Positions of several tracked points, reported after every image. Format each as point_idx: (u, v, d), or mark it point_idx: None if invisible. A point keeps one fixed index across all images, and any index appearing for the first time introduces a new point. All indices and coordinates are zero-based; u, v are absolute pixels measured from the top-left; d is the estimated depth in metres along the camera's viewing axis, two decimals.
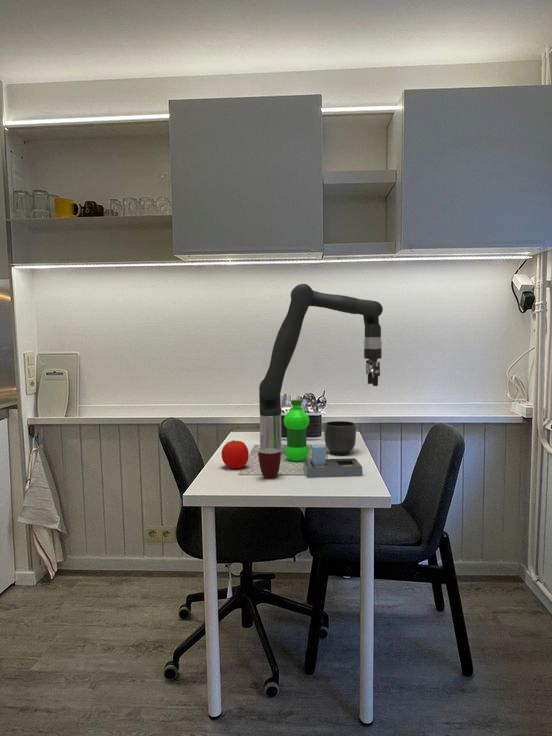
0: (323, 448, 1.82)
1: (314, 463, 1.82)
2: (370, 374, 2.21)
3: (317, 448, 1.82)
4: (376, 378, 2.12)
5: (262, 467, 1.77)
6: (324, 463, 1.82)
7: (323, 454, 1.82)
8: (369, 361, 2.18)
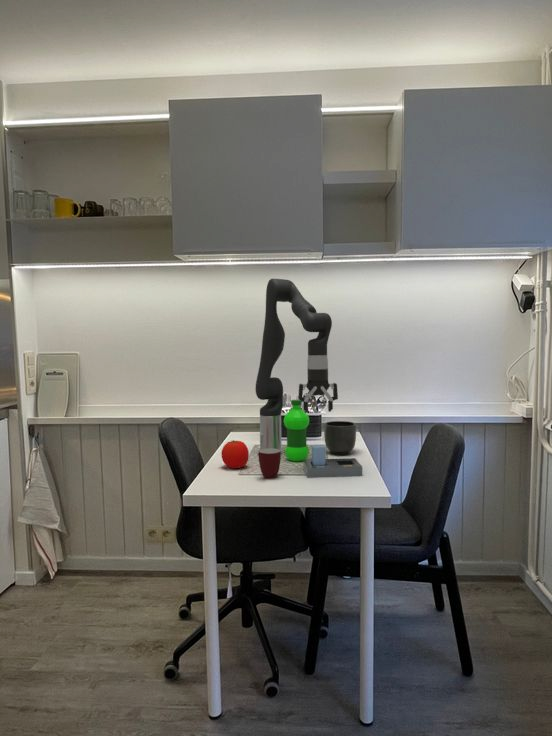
0: (323, 448, 1.82)
1: (314, 463, 1.82)
2: None
3: (317, 448, 1.82)
4: None
5: (262, 467, 1.77)
6: (324, 463, 1.82)
7: (323, 454, 1.82)
8: (314, 384, 1.81)
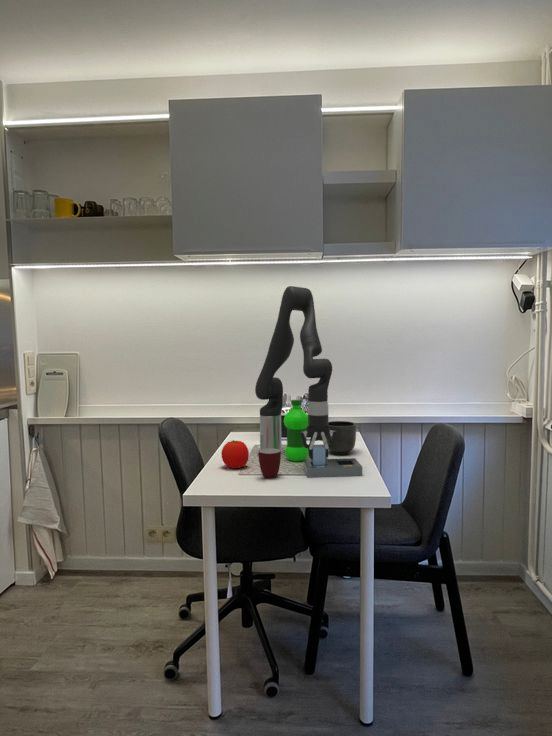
0: (323, 448, 1.82)
1: (314, 463, 1.82)
2: None
3: (317, 448, 1.82)
4: (327, 449, 1.84)
5: (262, 467, 1.77)
6: (324, 463, 1.82)
7: (323, 454, 1.82)
8: (315, 429, 1.82)
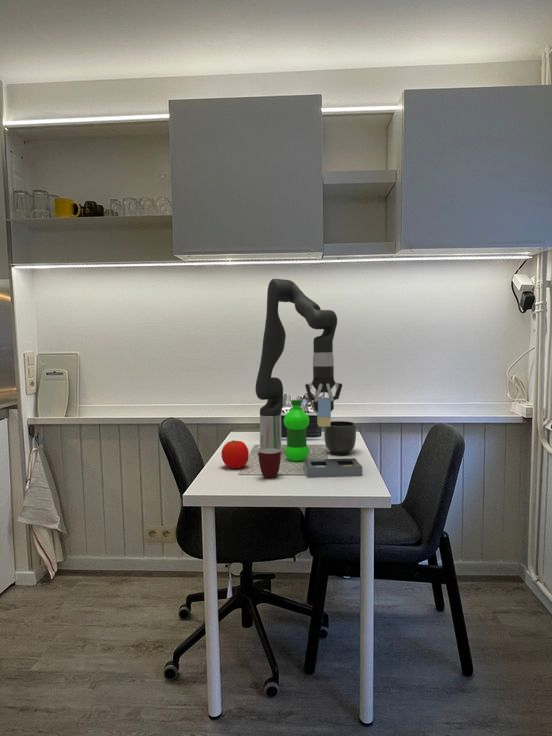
0: (328, 400, 1.80)
1: (319, 415, 1.80)
2: None
3: (322, 400, 1.80)
4: None
5: (262, 467, 1.77)
6: (329, 415, 1.81)
7: (328, 406, 1.80)
8: (320, 381, 1.81)
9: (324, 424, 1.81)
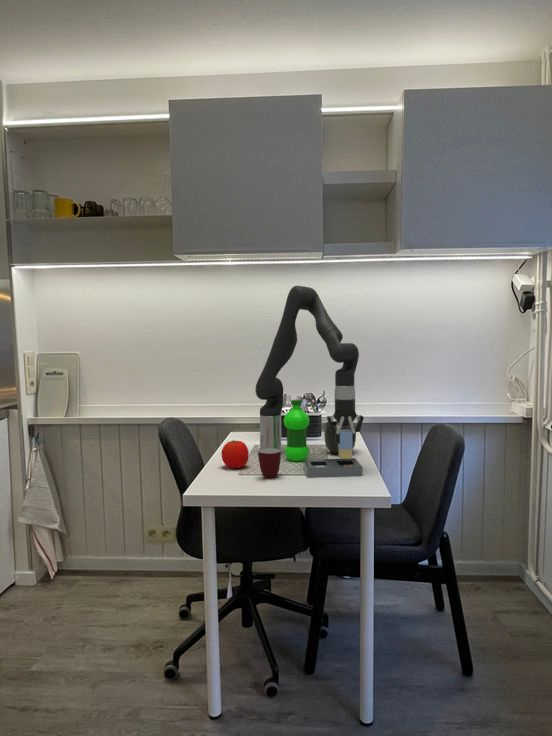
0: (350, 432, 1.82)
1: (341, 447, 1.82)
2: (338, 431, 1.84)
3: (344, 432, 1.82)
4: None
5: (262, 467, 1.77)
6: (351, 447, 1.82)
7: (350, 438, 1.82)
8: (342, 414, 1.82)
9: (346, 456, 1.82)
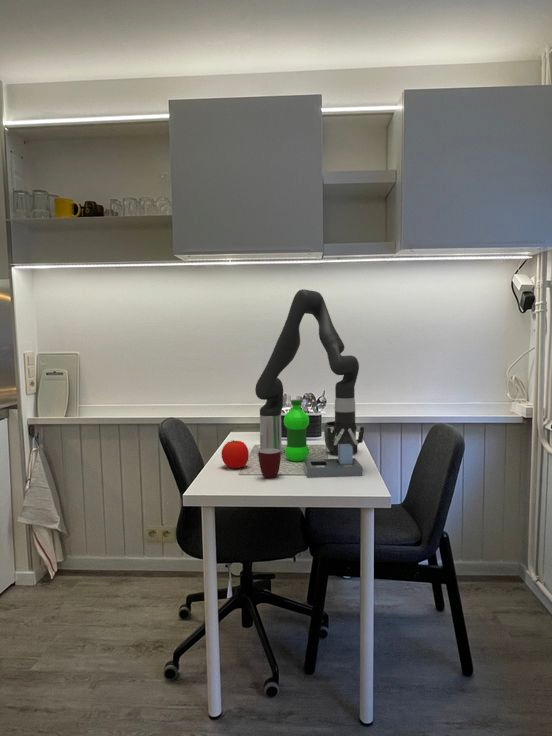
0: (350, 447, 1.82)
1: (341, 462, 1.82)
2: None
3: (344, 447, 1.82)
4: None
5: (262, 467, 1.77)
6: (351, 462, 1.83)
7: (350, 453, 1.82)
8: (342, 426, 1.83)
9: None
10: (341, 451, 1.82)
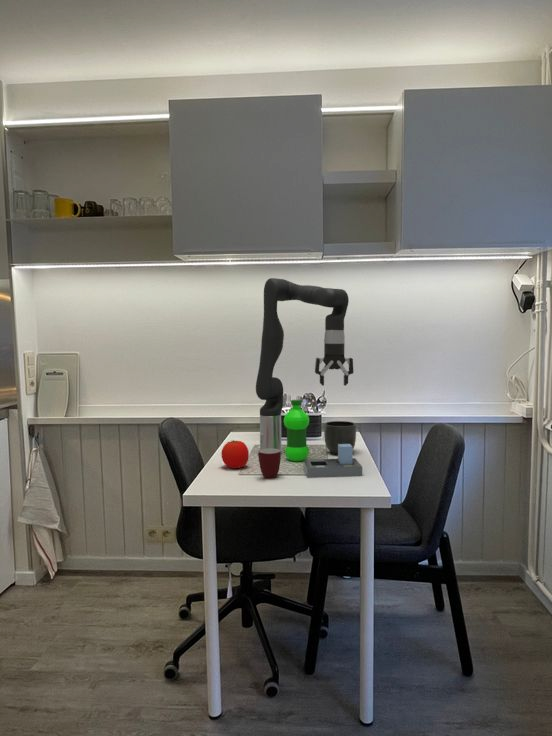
0: (350, 447, 1.82)
1: (341, 462, 1.82)
2: None
3: (344, 447, 1.82)
4: (347, 376, 1.88)
5: (262, 467, 1.77)
6: (351, 462, 1.83)
7: (350, 453, 1.82)
8: (331, 358, 1.86)
9: None
10: (341, 451, 1.82)
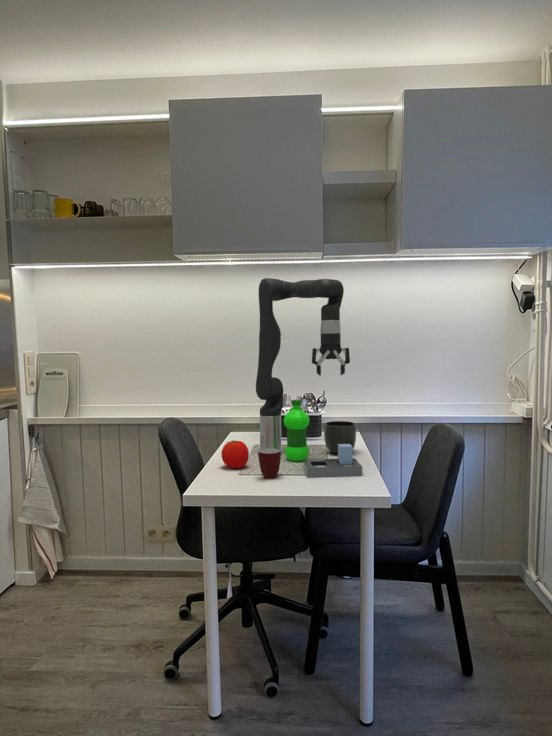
0: (350, 447, 1.82)
1: (341, 462, 1.82)
2: (319, 364, 1.89)
3: (344, 447, 1.82)
4: None
5: (262, 467, 1.77)
6: (351, 462, 1.83)
7: (350, 453, 1.82)
8: (327, 348, 1.87)
9: None
10: (341, 451, 1.82)
